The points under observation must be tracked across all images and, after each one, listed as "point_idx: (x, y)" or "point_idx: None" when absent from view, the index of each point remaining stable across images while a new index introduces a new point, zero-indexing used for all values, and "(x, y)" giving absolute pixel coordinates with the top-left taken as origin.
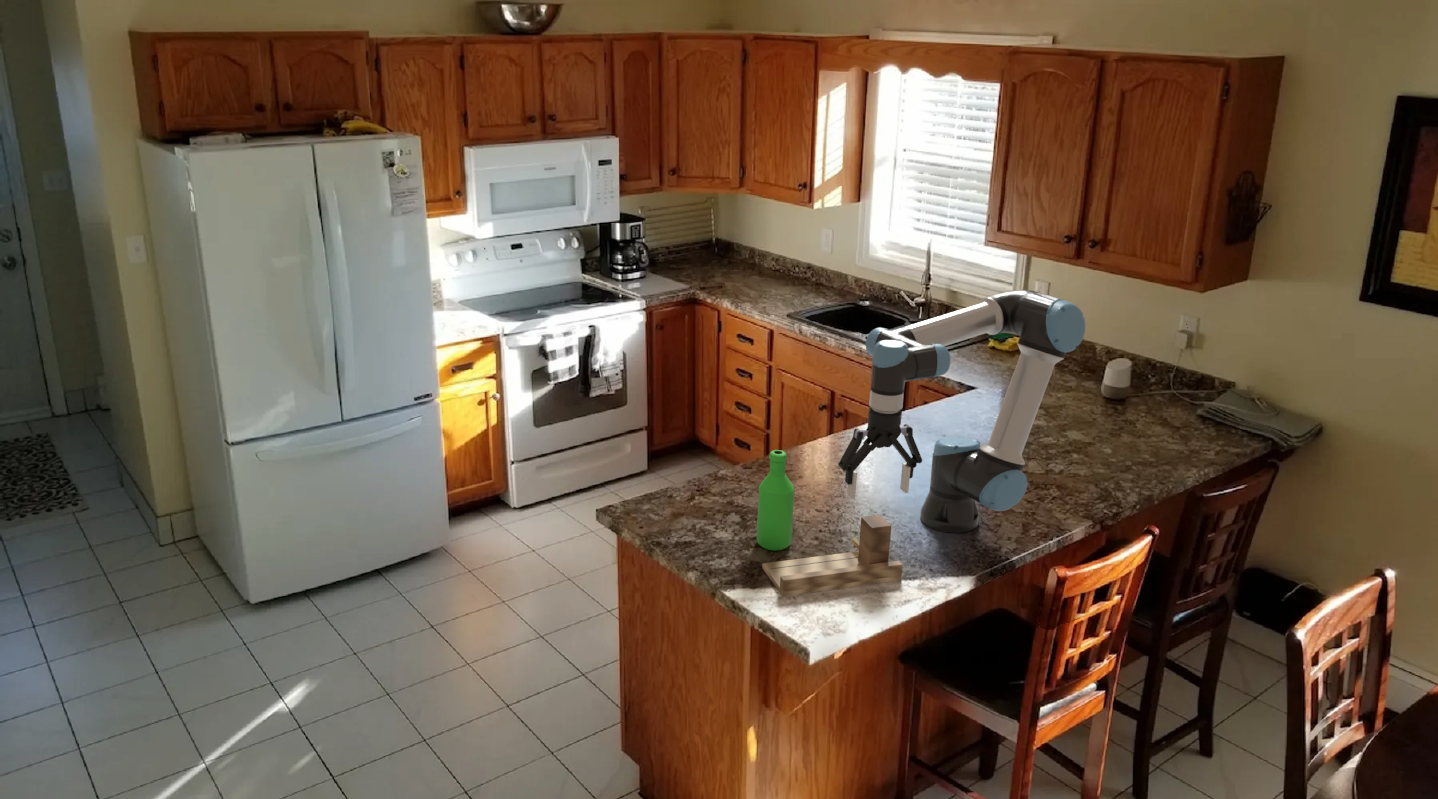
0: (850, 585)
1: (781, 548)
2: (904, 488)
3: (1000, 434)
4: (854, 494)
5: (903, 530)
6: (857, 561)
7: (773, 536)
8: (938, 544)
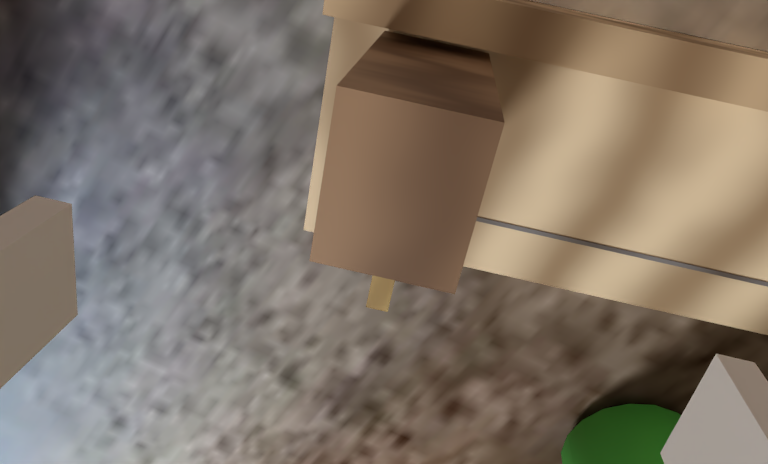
0: (620, 21)
1: (652, 405)
2: (44, 251)
3: None
4: (751, 391)
5: (105, 309)
6: None
7: None
8: (17, 160)
